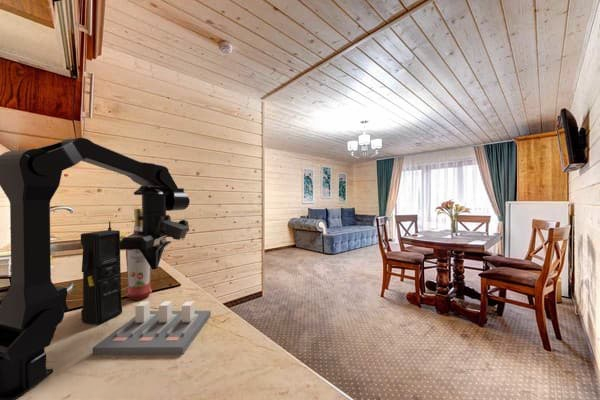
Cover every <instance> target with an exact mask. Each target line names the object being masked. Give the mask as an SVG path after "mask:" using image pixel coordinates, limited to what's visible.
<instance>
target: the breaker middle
mask: <svg viewBox="0 0 600 400" xmlns="http://www.w3.org/2000/svg"><path fill="white" fill-rule="evenodd" d="M158 311H159V322H168V321H169V320H170V319H171V318H172V311H173V300H170V301H169V300H168V301H167V300H166V301H163V302H162V303H160V304H159V305H158Z"/></svg>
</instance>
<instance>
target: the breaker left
mask: <svg viewBox="0 0 600 400" xmlns="http://www.w3.org/2000/svg"><path fill="white" fill-rule="evenodd" d="M134 306H135V307H134V308H135V309H134V310H135V312H134V314H135V316H134V317H135V323H144V322H145V321H146V320H148V319H149V318H150V311H151V302H150V301H140V302H139V303H138V304H136V305H134Z"/></svg>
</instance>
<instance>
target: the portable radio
mask: <svg viewBox="0 0 600 400" xmlns="http://www.w3.org/2000/svg"><path fill="white" fill-rule="evenodd" d="M111 222H112V221H111V220H110V221H108V228H107V229H106V230H99V231H91V232H84V233H81V234H80V245H82V262H81V273H82V290H83V291H82V309H81V310H80V311H81V315H80V316H81V319H80V320H81V322H83V324H91V325H100V324H102V323H104V322H106V321H108V320H110V319H112V318H115V317H116V316H119V315H121V314H122V313H123V304H122V302H123V301H122V280H121V279H122V278H121V276H122V275H121V271H122V270H121V249H120V241H121V231H120V230H118V229H117V230H113V229H112V227H111Z"/></svg>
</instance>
